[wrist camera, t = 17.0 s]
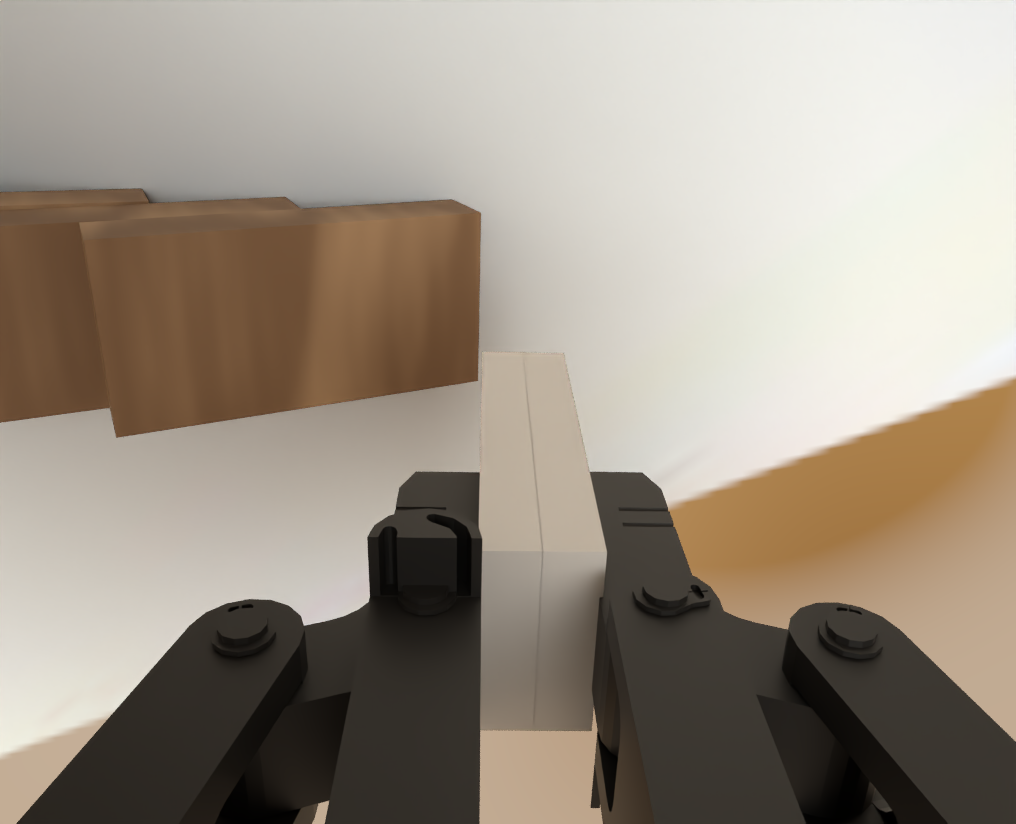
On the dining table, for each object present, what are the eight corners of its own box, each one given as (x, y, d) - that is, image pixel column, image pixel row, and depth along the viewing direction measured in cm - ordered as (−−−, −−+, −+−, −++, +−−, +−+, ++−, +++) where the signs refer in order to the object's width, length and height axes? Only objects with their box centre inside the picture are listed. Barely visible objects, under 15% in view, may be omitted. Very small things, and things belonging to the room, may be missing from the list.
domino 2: (451, 359, 28) (109, 407, 24) (452, 199, 26) (78, 222, 22) (477, 380, 26) (116, 437, 22) (481, 212, 24) (83, 240, 20)
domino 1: (295, 357, 28) (-79, 404, 24) (285, 197, 26) (-126, 216, 22) (312, 380, 26) (-86, 434, 22) (302, 209, 24) (-138, 233, 20)
